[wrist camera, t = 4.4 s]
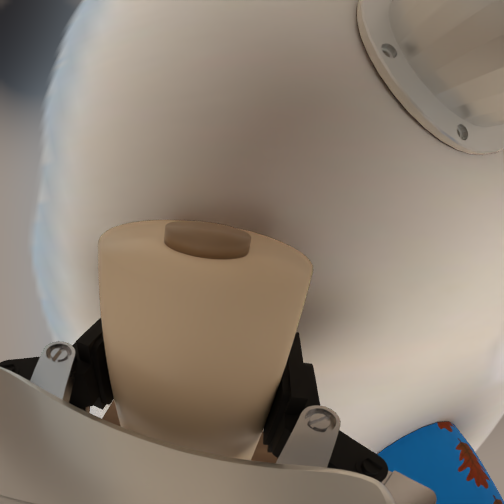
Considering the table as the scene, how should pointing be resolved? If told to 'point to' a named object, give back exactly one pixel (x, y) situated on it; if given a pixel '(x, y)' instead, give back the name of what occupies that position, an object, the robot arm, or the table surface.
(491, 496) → the thermos
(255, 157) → the table surface
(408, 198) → the table surface
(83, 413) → the robot arm
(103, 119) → the table surface
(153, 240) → the kraft roll
